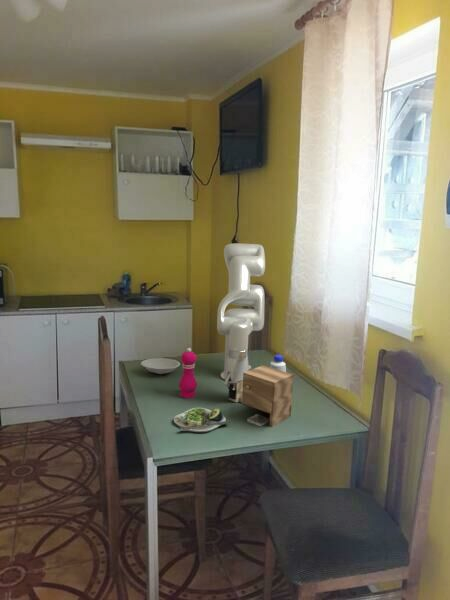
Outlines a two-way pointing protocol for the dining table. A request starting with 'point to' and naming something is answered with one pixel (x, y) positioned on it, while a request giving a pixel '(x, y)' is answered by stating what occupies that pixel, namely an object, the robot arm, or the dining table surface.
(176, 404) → the dining table surface
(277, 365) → the bottle
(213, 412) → the salad plate
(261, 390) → the wooden box
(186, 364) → the pepper mill
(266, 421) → the gray rectangular block
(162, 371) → the dish
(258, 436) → the dining table surface
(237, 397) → the beige mallet
